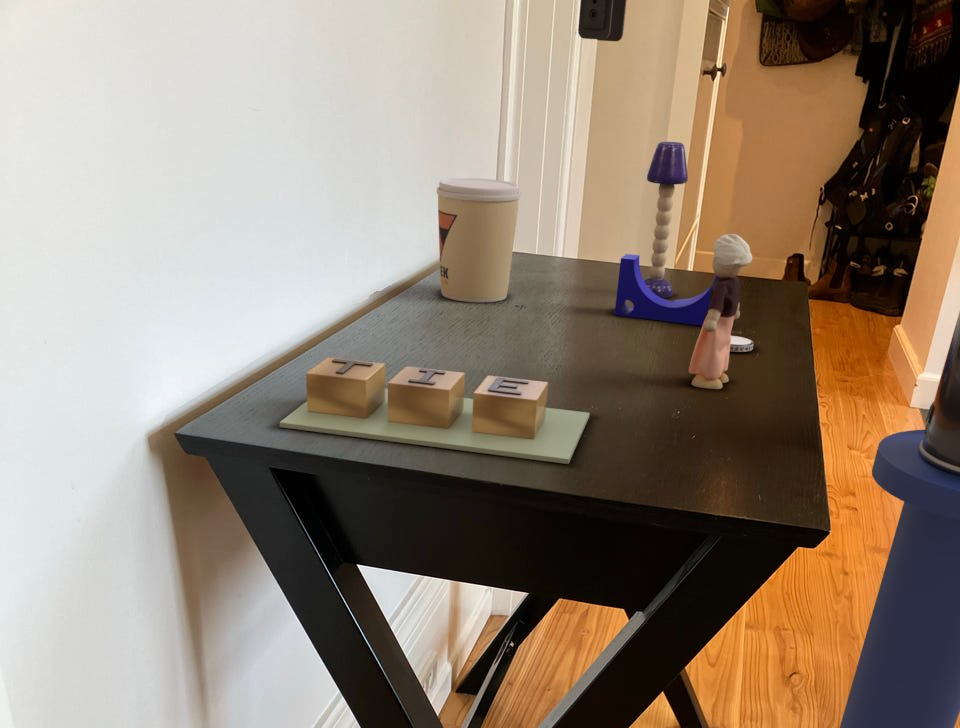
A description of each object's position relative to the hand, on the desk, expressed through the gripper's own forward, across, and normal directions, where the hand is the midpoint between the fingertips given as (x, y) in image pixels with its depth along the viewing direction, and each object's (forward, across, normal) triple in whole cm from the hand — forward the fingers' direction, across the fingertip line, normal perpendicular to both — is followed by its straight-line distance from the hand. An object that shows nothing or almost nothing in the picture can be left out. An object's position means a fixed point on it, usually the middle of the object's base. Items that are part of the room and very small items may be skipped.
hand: (601, 40), depth 75 cm
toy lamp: (+26, +41, -4) cm, 49 cm away
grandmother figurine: (+26, +5, -12) cm, 29 cm away
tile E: (+26, -14, +2) cm, 29 cm away
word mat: (+26, -14, +8) cm, 31 cm away
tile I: (+26, -14, +9) cm, 31 cm away
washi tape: (+26, +19, -14) cm, 35 cm away
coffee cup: (+26, +31, +16) cm, 44 cm away
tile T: (+26, -14, +16) cm, 33 cm away
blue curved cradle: (+26, +30, -7) cm, 41 cm away
